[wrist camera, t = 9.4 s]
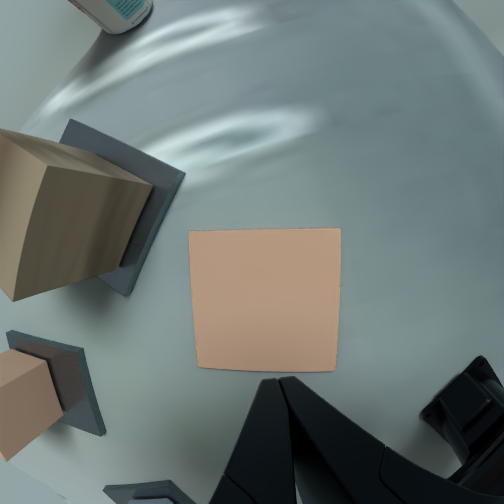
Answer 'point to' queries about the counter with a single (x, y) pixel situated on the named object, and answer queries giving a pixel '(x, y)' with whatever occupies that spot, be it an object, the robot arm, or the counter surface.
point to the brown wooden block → (61, 214)
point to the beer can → (115, 13)
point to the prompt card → (266, 298)
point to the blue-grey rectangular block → (151, 501)
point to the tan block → (24, 401)
